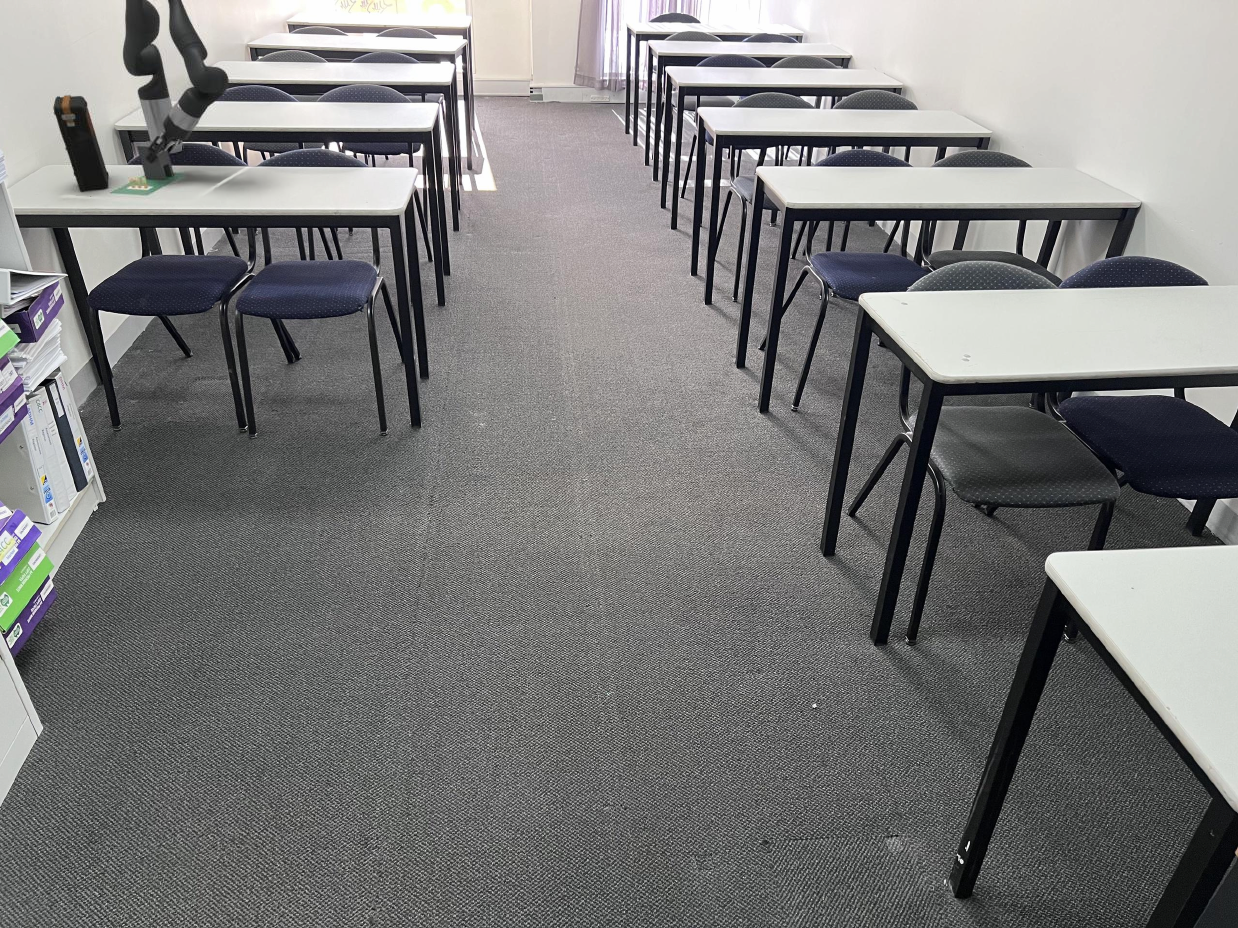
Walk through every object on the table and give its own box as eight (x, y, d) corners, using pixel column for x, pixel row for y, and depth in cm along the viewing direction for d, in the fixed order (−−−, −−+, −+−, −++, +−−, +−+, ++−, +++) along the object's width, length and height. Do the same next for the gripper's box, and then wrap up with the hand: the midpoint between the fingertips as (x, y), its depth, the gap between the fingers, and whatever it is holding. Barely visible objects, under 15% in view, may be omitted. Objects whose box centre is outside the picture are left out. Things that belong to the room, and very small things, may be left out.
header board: (151, 175, 282) (148, 162, 280) (187, 177, 281) (184, 164, 279) (110, 196, 264) (106, 182, 262) (148, 198, 263) (144, 185, 260)
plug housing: (156, 174, 279) (147, 141, 274) (174, 175, 279) (165, 142, 273) (146, 179, 275) (136, 146, 269) (164, 180, 274) (155, 147, 269)
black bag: (79, 181, 275) (51, 95, 261) (110, 178, 278) (84, 93, 264) (77, 196, 264) (48, 107, 250) (110, 192, 267) (83, 104, 253)
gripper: (184, 104, 270) (158, 142, 278) (158, 115, 259) (132, 154, 266) (205, 124, 273) (179, 160, 280) (180, 135, 261) (154, 173, 269)
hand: (156, 157), depth 273 cm, fingers open, 8 cm apart
